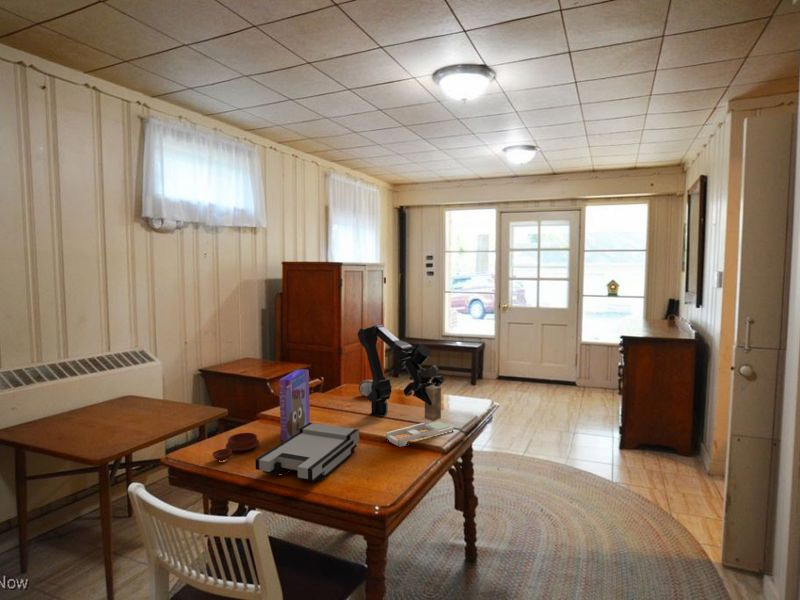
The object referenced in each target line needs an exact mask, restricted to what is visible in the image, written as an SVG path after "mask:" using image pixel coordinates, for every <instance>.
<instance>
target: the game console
mask: <svg viewBox="0 0 800 600" xmlns="http://www.w3.org/2000/svg"><path fill="white" fill-rule="evenodd" d="M359 442H360V429H359V428H352V427H344V426H336V425H330V424H329V425H328V424H321V423H316V422H310V423H308V424H306V425H305V426H303V427H301V428H300V429H299V433H297V434H295V435H294V436H292V437H291V438H289V439H287V440H286V441H282V442H281V443H279V444H278V445H276V446H274V447H273V448H271V449H269V450H268V451H266V452H265V453H263V454H261V455H260V456H258V457H257V458H255V461H254V462H255V466H254V467H255V470H257V471H262V473H266V474H268V473H270V474H269V475H274V474H275V475H274V476H279V474H282V475H284V474H285V473H287V472H288V471H290V470H291V471H292V470H293V471H297V479H298V480H302V481H306V480H307V481H308V482H311V481H313V483H317V482H319V481H320V480H322V479H323V478H324V477H325V478H327V476H329V475H330V474H331V473H332V472H333V471H335V470H336V469H337V468H338V467H339V466H340V465H342V464H343V463H344V462H345V461H347V460H348V459H349V458H350V457H351V456H352V455H353V454H355V449H356V448H357V444H358V443H359ZM291 471H290V472H291ZM288 473H289V472H288ZM288 473H287V474H288ZM328 474H329V475H328ZM284 476H285V475H284ZM325 478H324V479H325ZM324 479H323V480H324ZM323 480H322V481H323ZM307 481H306V482H307ZM315 481H317V482H315ZM320 482H321V481H320ZM320 482H319V483H320Z"/></svg>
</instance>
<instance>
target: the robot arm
mask: <svg viewBox="0 0 800 600" xmlns="http://www.w3.org/2000/svg"><path fill="white" fill-rule="evenodd" d="M357 338H358V340H359V343H360V344H361V346H363V348H364V350H365V352H366V353H365V354H366V356H367V361H368V365H369V369H370V373H371V377H372V380H373V381H372V385H371V389H372V391H371V393H370V394H369V395H368V397H367V398H368V399H367V400H368V401H369V402H370V403H371V412H370V415H371V416H379V417H384V416H386V415H387V413H388V412H389V410H388V409H389V407H388V406H389V403H388V402H387V400H390V398H391V394H392V388H393V387H392V385H391V380H390V379H388V378H386V377H385V376H384V371H383V368H382V364H381V359H380V357H379V352H378V348H377V344H378V341H379V340H378V339H380V340H381V341H382V342H384V343H385V344H386V345H387V346H388V347H389V348H390V349H391V351H392V354H393V355H394V357H395V358H396V359H397V360H399V361H400V360H401V361H402V360H405V361H402V363H401V367H400V368H401V369H406V371H407V372H408V374H409V376H410V377H409V380H410V381H412V382H409V383H408V384H407V385H406V386H405V387H404V388H403V394H404V395H405V397H410V396H412V397H416V398H417V399H418V400H421V402H422V401H423V403H424V404H425V403H427V404H428V405H432V403H431V401H430V399H429V397H428V395H427V394H426V392H425V387H428V386H432V385H434V386H437V387H440V386H441V385H442V384H444V382H445V381H446V379H445V378H444V376H443V375H438V373H440V372H439V370H440V369H439V367H438V366H437V365H432V366H430V368H425V367H424V368H423V367H422V366H421V365H423V364H424V363H425V362H426V361H427V360H428V359H429V357H430V356H431V354H432V351H431V349H429V348H428V347H427V346H426V345H423V343H422V342H420V343H417V344H416V346H415V347H413V345H412V344H410V343H408V342H406V341H402V340H401V339H399V338H397V337H396V336H395V335H394V334H393V333H392V332H390V331H389V330H388V329H387V328H386V327H385V325H383V324H376V325H375V324H374V325H373V326H369V327H363V328H360V329H359V330H358V333H357Z"/></svg>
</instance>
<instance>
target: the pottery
mask: <svg viewBox="0 0 800 600" xmlns="http://www.w3.org/2000/svg"><path fill="white" fill-rule="evenodd" d="M257 436H258V435H257V434H255V433H253V432H240V433H235V434H233V435H231V436H229V437H228V438H227V443H226V444H225V448H222V449H218V450H215V451H213V452H212V456H213V458H214V459H215V460H217V461H218V460H220V461H223V460H226V459H227V460H228V459H229V458H230V456H231V455H232V453H233V451H234V450H235V451H234V452H236V451H238V452H237V453H242V452H243V453H245V452H248V451H250V450H251V449H253V448H255V447H258V445H259V444H260V441H259V439H258V437H257ZM244 451H245V452H244Z"/></svg>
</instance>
